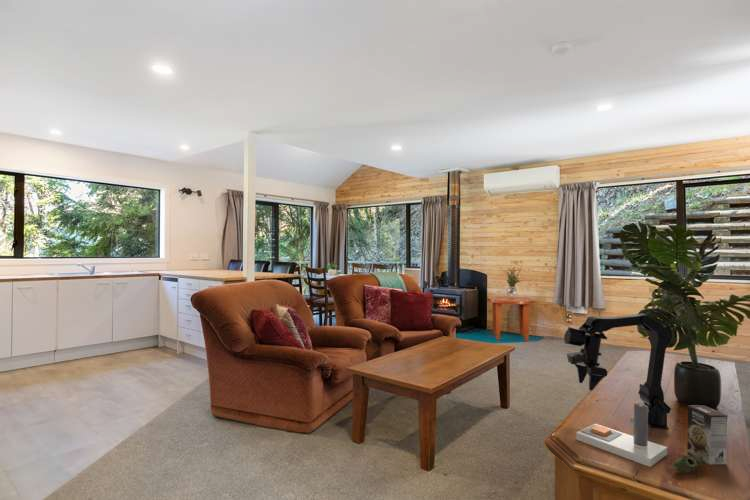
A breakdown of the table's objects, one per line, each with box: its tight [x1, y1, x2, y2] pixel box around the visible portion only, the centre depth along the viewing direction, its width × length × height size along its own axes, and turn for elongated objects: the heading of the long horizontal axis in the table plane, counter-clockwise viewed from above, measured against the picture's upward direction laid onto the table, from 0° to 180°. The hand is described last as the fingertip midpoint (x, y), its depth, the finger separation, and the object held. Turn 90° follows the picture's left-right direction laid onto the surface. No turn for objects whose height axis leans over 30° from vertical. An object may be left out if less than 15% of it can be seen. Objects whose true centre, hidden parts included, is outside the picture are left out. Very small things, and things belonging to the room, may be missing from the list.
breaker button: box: [591, 424, 611, 437], centre depth 154 cm, size 5×5×2 cm
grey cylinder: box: [633, 402, 649, 449], centre depth 143 cm, size 4×4×14 cm
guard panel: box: [575, 423, 668, 468], centre depth 148 cm, size 24×14×3 cm, turn 37°
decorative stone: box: [671, 455, 704, 474], centre depth 132 cm, size 11×8×5 cm
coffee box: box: [686, 404, 728, 466], centre depth 141 cm, size 9×6×16 cm
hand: (585, 386), depth 169 cm, fingers open, 9 cm apart
